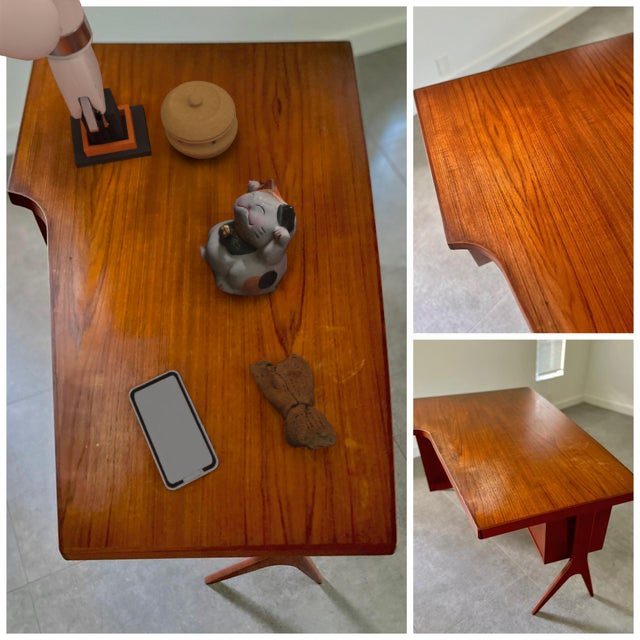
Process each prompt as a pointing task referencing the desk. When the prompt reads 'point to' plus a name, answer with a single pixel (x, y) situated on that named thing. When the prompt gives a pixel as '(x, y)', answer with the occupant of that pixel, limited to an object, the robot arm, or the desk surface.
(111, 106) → the dark grey cube
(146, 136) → the base pad
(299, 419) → the sculpture
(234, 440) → the desk surface
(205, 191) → the desk surface
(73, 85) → the robot arm
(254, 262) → the lucky cat figurine
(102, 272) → the desk surface
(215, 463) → the smartphone
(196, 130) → the pot
